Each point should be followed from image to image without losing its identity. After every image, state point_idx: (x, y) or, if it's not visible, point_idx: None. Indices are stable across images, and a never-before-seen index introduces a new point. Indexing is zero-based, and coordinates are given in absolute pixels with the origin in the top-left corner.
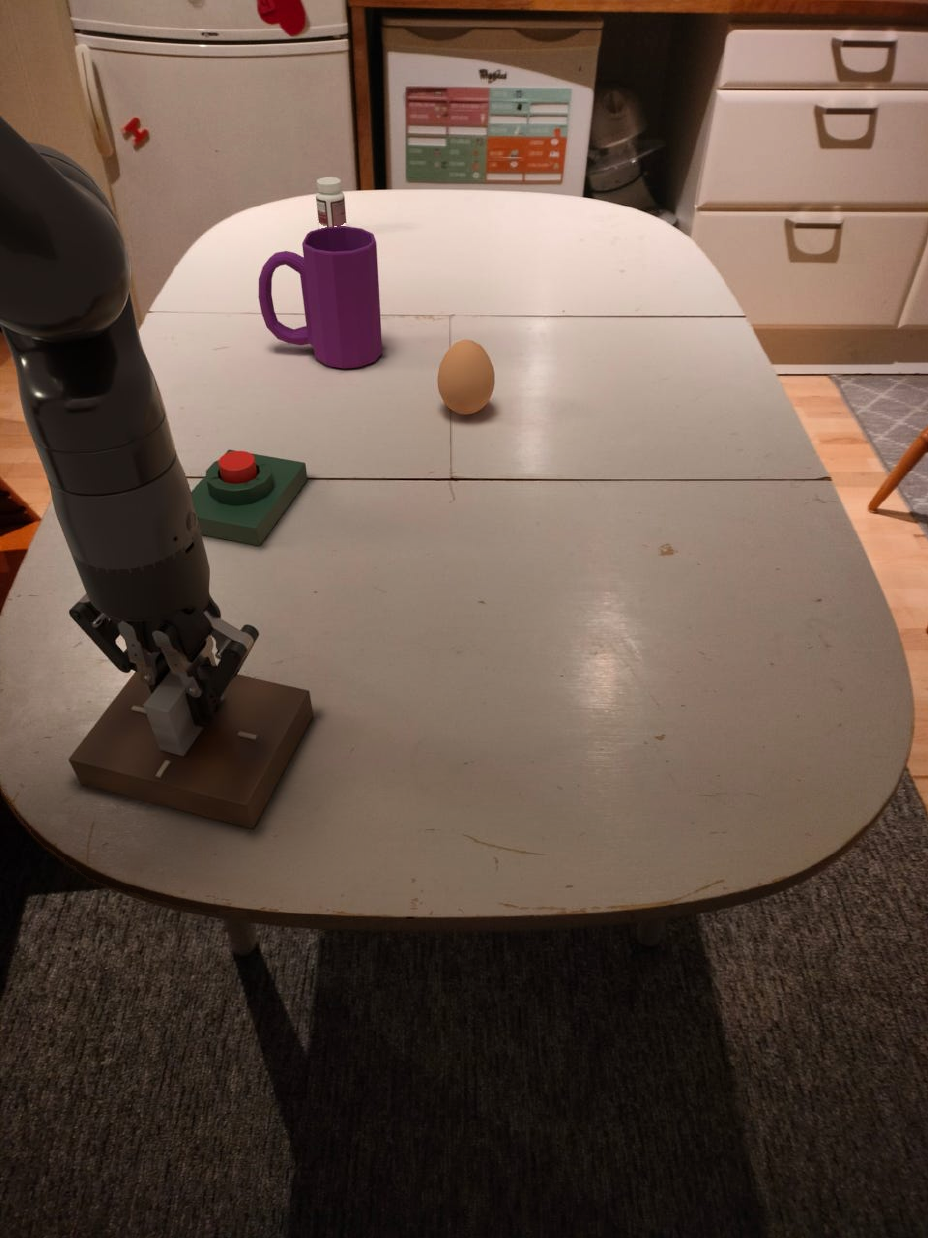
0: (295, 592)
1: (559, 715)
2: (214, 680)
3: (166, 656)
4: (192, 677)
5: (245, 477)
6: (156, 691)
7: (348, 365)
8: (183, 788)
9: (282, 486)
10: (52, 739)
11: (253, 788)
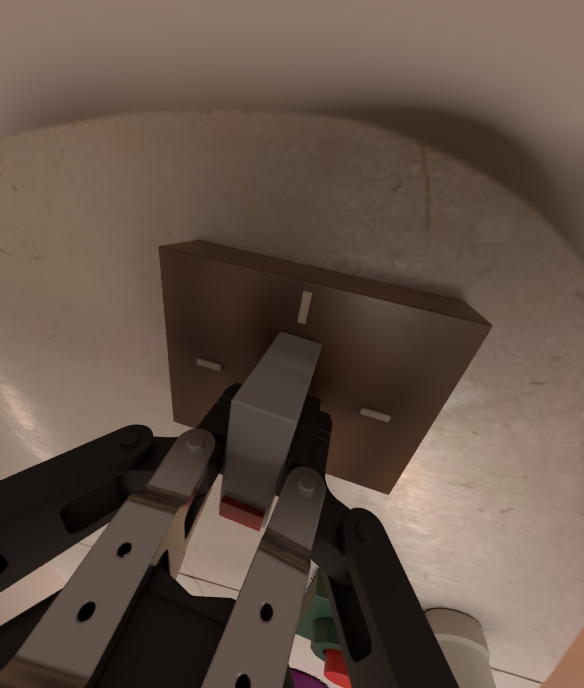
0: (269, 519)
1: (22, 380)
2: (82, 472)
3: (116, 606)
4: (150, 485)
5: (332, 655)
6: (281, 452)
7: (298, 676)
8: (259, 271)
9: (306, 621)
10: (528, 379)
11: (163, 277)
